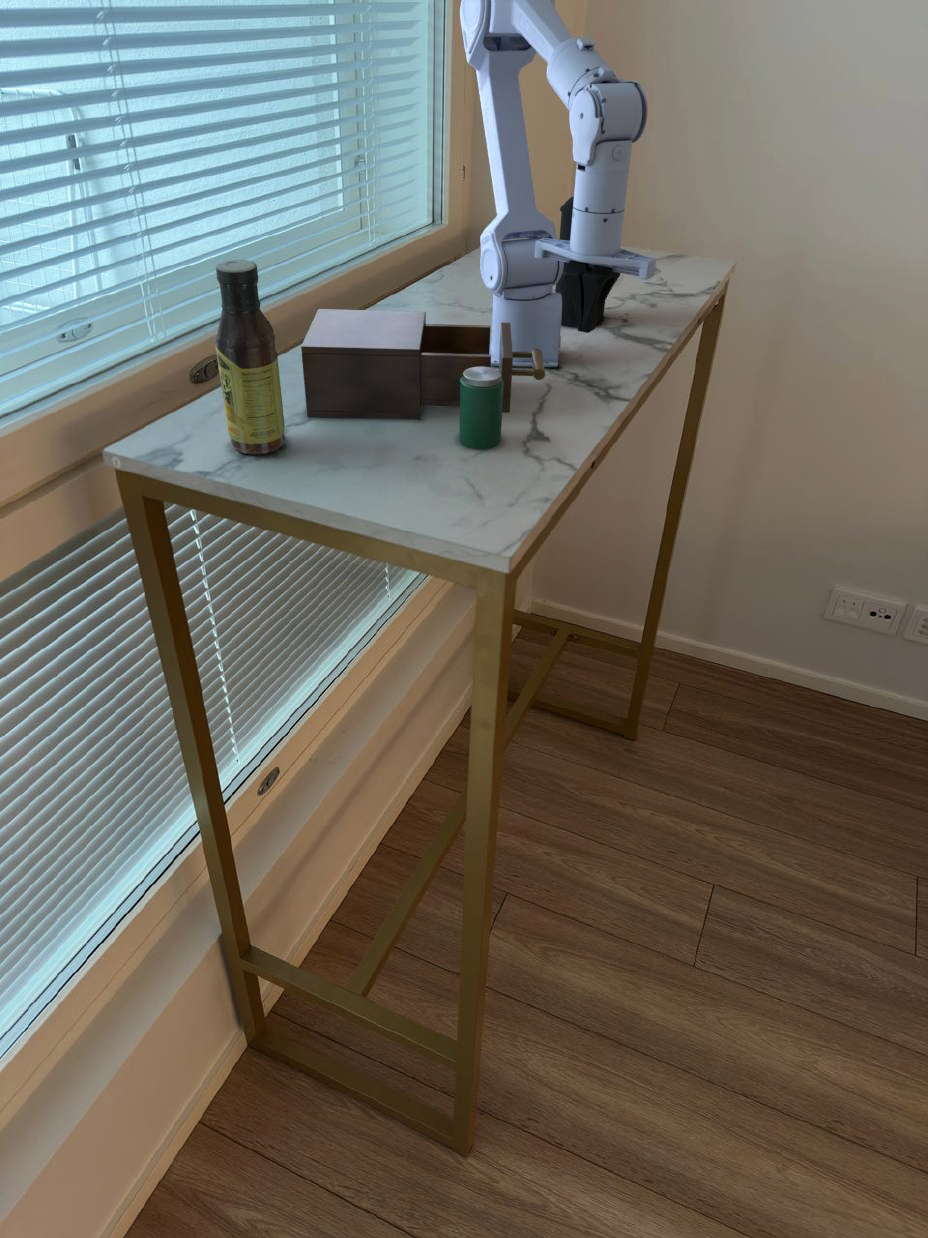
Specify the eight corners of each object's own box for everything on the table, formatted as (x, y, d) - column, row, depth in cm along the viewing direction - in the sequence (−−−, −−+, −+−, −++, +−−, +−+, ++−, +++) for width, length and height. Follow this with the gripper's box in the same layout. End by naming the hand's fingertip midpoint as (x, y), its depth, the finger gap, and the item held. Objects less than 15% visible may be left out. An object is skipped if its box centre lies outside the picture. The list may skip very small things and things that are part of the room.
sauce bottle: (233, 433, 104) (208, 253, 92) (288, 433, 105) (270, 254, 93) (226, 459, 99) (199, 272, 87) (284, 458, 99) (264, 272, 88)
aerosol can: (544, 323, 138) (555, 179, 126) (560, 307, 144) (571, 169, 132) (596, 330, 135) (612, 185, 123) (610, 314, 142) (627, 174, 130)
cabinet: (426, 376, 119) (425, 311, 114) (420, 419, 108) (419, 349, 103) (323, 374, 119) (318, 308, 114) (307, 416, 108) (300, 346, 103)
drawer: (538, 375, 118) (542, 323, 114) (544, 414, 108) (548, 358, 104) (412, 371, 118) (411, 319, 114) (405, 410, 108) (404, 354, 104)
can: (494, 429, 107) (496, 363, 102) (506, 447, 103) (509, 379, 98) (454, 433, 106) (455, 367, 101) (465, 451, 102) (467, 383, 97)
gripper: (674, 211, 100) (656, 333, 108) (559, 192, 106) (551, 309, 114) (646, 222, 95) (629, 349, 103) (528, 203, 102) (521, 323, 110)
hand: (586, 329), depth 108 cm, fingers closed
